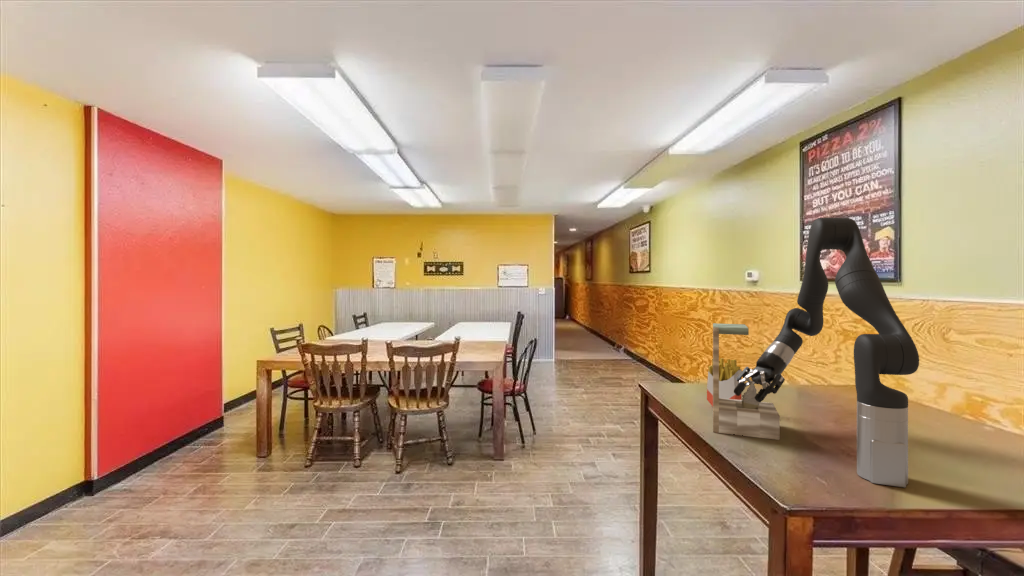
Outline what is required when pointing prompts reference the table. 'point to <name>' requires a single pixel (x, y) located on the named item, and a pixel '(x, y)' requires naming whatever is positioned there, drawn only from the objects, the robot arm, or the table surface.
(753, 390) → the ice cream cone
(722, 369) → the french fries container
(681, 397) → the table surface
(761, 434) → the cone stand
